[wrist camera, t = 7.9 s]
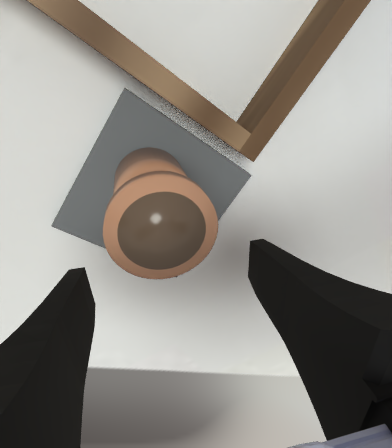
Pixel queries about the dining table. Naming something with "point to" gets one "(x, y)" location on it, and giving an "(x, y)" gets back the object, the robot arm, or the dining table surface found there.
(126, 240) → the terracotta pot
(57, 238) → the dining table surface
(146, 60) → the frame
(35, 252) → the dining table surface
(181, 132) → the mat
